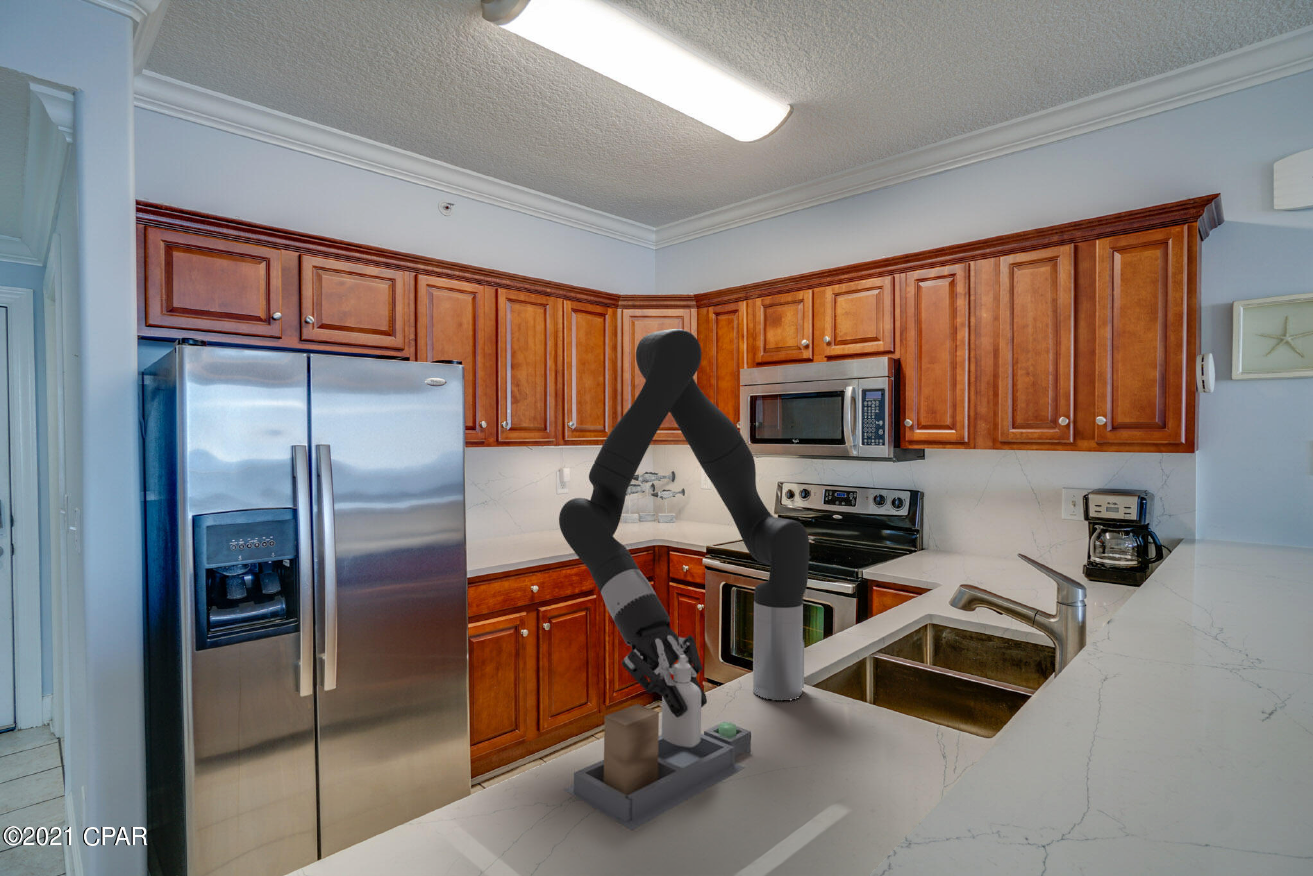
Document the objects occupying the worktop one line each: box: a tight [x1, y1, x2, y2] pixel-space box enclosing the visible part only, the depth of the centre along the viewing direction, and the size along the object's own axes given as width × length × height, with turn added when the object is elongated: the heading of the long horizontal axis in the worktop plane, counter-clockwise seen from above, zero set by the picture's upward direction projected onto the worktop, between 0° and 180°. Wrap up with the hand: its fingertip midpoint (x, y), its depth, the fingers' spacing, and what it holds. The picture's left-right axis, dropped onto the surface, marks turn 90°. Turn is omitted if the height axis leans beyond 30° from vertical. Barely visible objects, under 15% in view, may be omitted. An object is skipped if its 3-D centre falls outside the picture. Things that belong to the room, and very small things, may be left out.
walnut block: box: [603, 703, 660, 796], centre depth 87 cm, size 6×4×10 cm, turn 136°
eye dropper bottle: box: [660, 655, 702, 747], centre depth 94 cm, size 4×6×12 cm
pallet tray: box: [563, 733, 745, 831], centre depth 91 cm, size 22×13×4 cm, turn 136°
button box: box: [703, 721, 752, 758], centre depth 100 cm, size 5×5×4 cm
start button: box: [718, 721, 737, 738], centre depth 100 cm, size 3×3×3 cm
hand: (692, 709), depth 93 cm, fingers closed on eye dropper bottle, 3 cm apart
